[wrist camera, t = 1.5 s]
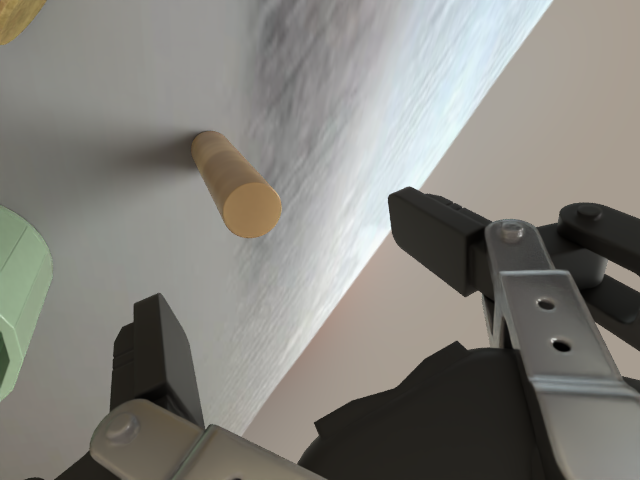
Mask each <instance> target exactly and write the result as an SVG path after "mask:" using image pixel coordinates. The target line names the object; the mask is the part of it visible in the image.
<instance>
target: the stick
mask: <svg viewBox="0 0 640 480" xmlns="http://www.w3.org/2000/svg"><path fill="white" fill-rule="evenodd" d="M191 154H192V157H193V159H194V161H195V164H196V166H197V168H198V170H199V172H200V174H201V176H202V178H203V180H204V182H205V184H206V186H207V188H208V190H209V192H210V194H211V196H212V198H213V200H214V202H215V204H216V206H217V209H218V211H219V213H220V215H221V217H222V219H223V221H224V223H225V225H226V226H227V228H228V229H229V230H230V231H231V232H232V233H234V234H235V235H237V236H240V237H244V238H256V237H259V236H262V235H264V234H266V233H268V232H269V231H270V230H271V229H272V228H273V227H274V226H275V225H276V224H277V222H278V220H279V218H280V215H281V207H282V206H281V200H280V198H279V196H278V194H277V192H276V191H275V190H274V189H273V188H272V187H271V186H270V185H269V184H268V183H267V181H266V180H265V179H264V178H263V177H262V176H261V175H260V174H259V173H258V172H257V171H256V170H255V169H254V168H253V166H252V165H251V164H250V163H249V162H248V161H247V160H246V159H245V158H244V157H243V156H242V155H241V154H240V152H239V151H238V150H237V149H236V148H235V147H234V146H233V145H232V144H231V143H230V142H229V141H228V140H227V139H226V137H224V136H223V135H222V134H220V133H218V132H215V131H206V132H203V133H201V134H199V135H198V136H197V137H196V138H195V139H194V140H193V142H192V145H191Z"/></svg>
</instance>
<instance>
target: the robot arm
mask: <svg viewBox="0 0 640 480" xmlns="http://www.w3.org/2000/svg"><path fill="white" fill-rule="evenodd" d="M388 205H389V213H390V221H391V229H392V234H393V237H394V240H395V241H396V243H397V244H398V246H399V247H400V248H401V249H403V250H404V251H405V252H407V253H408V254H409V255H411V256H412V257H413V258H415V259H416V260H417V261H418V262H420V263H421V264H422V265H424V266H425V267H426V268H428V269H429V270H430V271H432V272H433V273H434V274H436V275H437V276H438V277H439V278H441V279H442V280H443V281H444V282H446V283H447V284H448V285H450V286H451V287H452V288H454V289H455V290H456V291H458V292H459V293H460V294H462V295H463V296H464V297H467V296H469V295H470V294H472V293H474V292H476V291H480V292H481V293H482V305H483V310H484V315H485V321H486V326H487V331H488V337H489V342H490V347H489V348H477V349H471V350H467V349H466V348H464V346H462V345H461V344H460V343H459V342H458V341H455V342H454V343H452V344H450V345H448V346H447V347H445V348H443V349H441V350H440V351H438V352H436V353H434V354H433V355H431V356H429V357H427V358H426V359H424V360H423V361H422V362H421V363H420V364H419V365H418V366H417V367H416V368H415V369H414V370H413V371H412V372H411V373H410V374H409V375H408V376H407V378H406V379H405V380H403V381H402V383H401V384H400V385H398V386H397V387H396V388H394V389H391V390H387V391H384V392H380V393H377V394H374V395H370V396H367V397H363V398H360V399H356V400H353V401H351V402H349V403H347V404H345V405H344V406H342V407H340V408H338V409H337V410H335V411H333V412H331V413H330V414H328V415H326V416H324V417H323V418H321V419H319V420H318V421H316V422H314V424H315V427H316V429H317V432H318V434H319V436H318V437H317V438H316V439H315V440H314V441H313V442H312V443H311V445H310V446H309V447H308V448H307V449H306V451H305V452H304V453H303V455H302V457H301V458H300V460H299V461H298V463H297V464H295V463H293V462H291V461H289V460H287V459H285V458H283V457H281V456H279V455H277V454H275V453H273V452H271V451H269V450H266V449H265V448H262V447H260V446H258V445H256V444H254V443H252V442H250V441H248V440H246V439H244V438H242V437H240V436H238V435H236V434H234V433H232V432H230V431H228V430H226V429H224V428H222V427H220V426H217V425H213V424H210V425H209V426H208V427H207V429H205V426H204V420H203V415H202V409H201V404H200V399H199V393H198V388H197V382H196V377H195V372H194V366H193V361H192V356H191V350H190V345H189V342H188V339H187V336H186V334H185V332H184V330H183V328H182V326H181V325H180V323H179V321H178V320H177V318H176V316H175V315H174V313H173V312H172V310H171V308H170V307H169V305H168V303H167V302H166V300H165V298H164V297H163V295H162V294H161V293H157V294H155V295H153V296H150V297H148V298H146V299H143V300H141V301H139V302H136V303H135V304H134V322H133V323H130V324H128V325H126V326H124V327H122V329H121V330H120V332H119V334H118V336H117V338H116V340H115V342H114V352H113V357H114V359H113V371H112V383H111V399H110V413H109V414H108V415H107V416H105V417H104V419H103V420H102V421H101V422H100V423H99V425H98V426H97V428H96V429H95V431H94V433H93V435H92V438H91V441H90V448H89V449H90V450H89V451H88V452H87V453H86V454H85V455H84V456H83V457H82V458H81V459H80V460H78V461H77V462H76V463H75V464H73V465H72V466H71V467H69V468H68V469H67V470H66V471H64V472H63V473H62V474H61V475H59V476H58V477H57V478H56V479H54V480H640V380H636V379H631V378H628V377H624V376H621V374H620V372H619V370H618V368H617V366H616V364H615V362H614V360H613V358H612V356H611V354H610V352H609V350H608V348H607V346H606V344H605V342H604V340H603V338H602V336H601V334H600V332H599V330H598V328H597V326H596V324H595V322H596V323H598V324H599V325H601V326H602V327H604V328H605V329H607V330H608V331H610V332H611V333H613V334H614V335H616V336H617V337H619V338H620V339H622V340H623V341H625V342H626V343H628V344H629V345H631V346H632V347H634V348H636V349H637V350H639V351H640V293H639V292H638V291H636V290H634V289H632V288H630V287H628V286H626V285H625V284H623V283H621V282H619V281H617V280H615V279H613V278H612V277H610V276H608V275H606V274H604V273H605V269H606V266H607V262H608V260H610V261H612V262H614V263H616V264H618V265H620V266H622V267H624V268H626V269H628V270H630V271H632V272H634V273H636V274H637V275H638V276H639V277H640V219H638V218H636V217H633V216H631V215H628V214H625V213H623V212H620V211H618V210H615V209H612V208H610V207H607V206H604V205H600V204H596V203H574V204H570V205H567V206H565V207H564V208H562V209H561V211H560V214H559V219H558V223H554V224H549V225H545V226H540V227H535V226H533V225H532V224H530V223H528V222H525V221H522V220H516V219H503V220H498V221H495V222H492V221H490V220H487V219H486V218H484V217H482V216H480V215H478V214H476V213H474V212H472V211H470V210H468V209H466V208H462V207H461V206H460V205H458V204H456V203H454V204H453V202H452V201H450V200H448V199H445V198H444V197H442V196H437V195H432V194H424V193H422V192H420V191H418V190H416V189H414V188H412V187H406V188H404V189H401V190H399V191H397V192H394V193H392V194H390V195H389V197H388ZM594 321H595V322H594ZM25 480H44V479H41V478H36V477H34V478H28V479H25Z"/></svg>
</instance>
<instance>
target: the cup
mask: <svg viewBox="0 0 640 480" xmlns="http://www.w3.org/2000/svg"><path fill="white" fill-rule="evenodd" d="M52 278H53V263H52V257H51V254H50V251H49V249H48V247H47V245H46V243H45V241H44V240H43V238H42V237H41V235H40V234H39V233H38V232H37V231H36V230H35V229H34V227H33V226H32V225H30V224H29V223H28V222H27V221H26V220H25V219H23V218H22V217H20V216H19V215H17V214H16V213H14V212H13V211H11V210H9V209H7V208H5V207H3V206H1V205H0V402H1V401H2V400H3V399H4V398H5V397H6V396H7V395H8V394H9V393H10V392H11V391H12V390H13V389H14V386H15V383H16V380H17V377H18V375H19V372H20V369H21V366H22V364H23V361H24V358H25V355H26V352H27V349H28V346H29V344H30V341H31V338H32V335H33V332H34V329H35V327H36V324H37V321H38V318H39V315H40V312H41V309H42V307H43V304H44V301H45V298H46V295H47V292H48V289H49V287H50V284H51V281H52Z"/></svg>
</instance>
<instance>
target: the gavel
mask: <svg viewBox="0 0 640 480" xmlns="http://www.w3.org/2000/svg"><path fill="white" fill-rule="evenodd" d="M46 1H47V0H0V45H4V44H7V43H9V42H10V41H12V40H13V39H14V38H16V37H17V36H18V35H19V34H20V33H21V32H22V31H23V30H24V29H25V28H26V27H27V26H28V25H29V24H30V22H31V21H32V20H33V19H34V17H35V16H36V15H37V14H38V12H39V11H40V10H41V8H42V7H43V5H44V4H45V2H46Z"/></svg>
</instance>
